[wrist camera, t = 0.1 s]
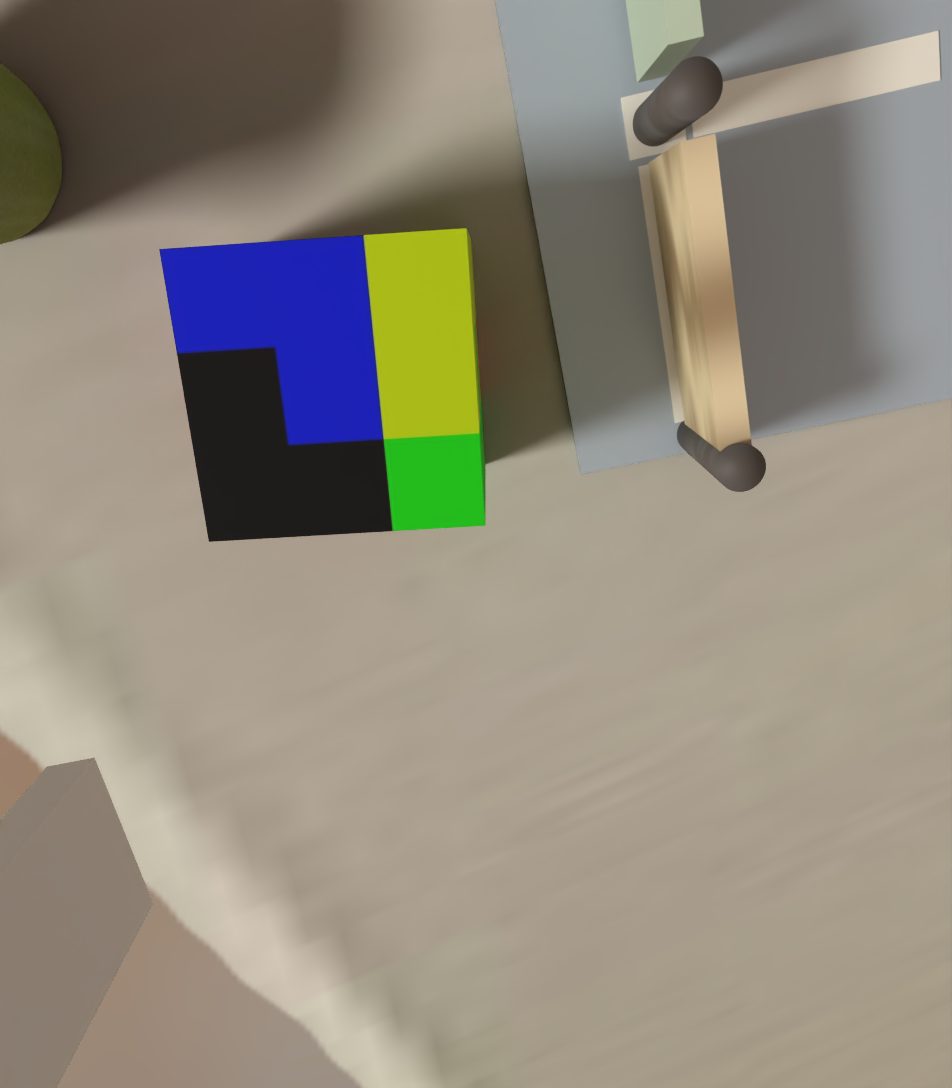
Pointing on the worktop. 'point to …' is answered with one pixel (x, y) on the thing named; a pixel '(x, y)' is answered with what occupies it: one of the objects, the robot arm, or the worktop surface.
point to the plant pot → (25, 159)
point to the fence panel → (662, 34)
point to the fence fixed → (699, 275)
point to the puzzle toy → (331, 383)
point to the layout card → (746, 210)
